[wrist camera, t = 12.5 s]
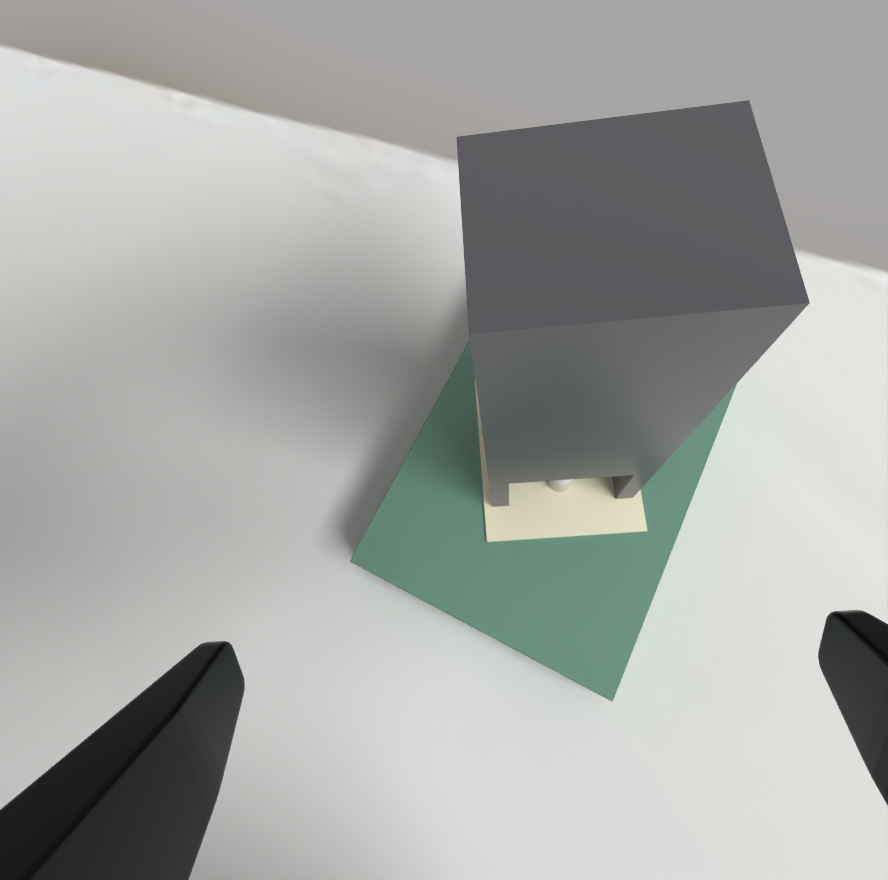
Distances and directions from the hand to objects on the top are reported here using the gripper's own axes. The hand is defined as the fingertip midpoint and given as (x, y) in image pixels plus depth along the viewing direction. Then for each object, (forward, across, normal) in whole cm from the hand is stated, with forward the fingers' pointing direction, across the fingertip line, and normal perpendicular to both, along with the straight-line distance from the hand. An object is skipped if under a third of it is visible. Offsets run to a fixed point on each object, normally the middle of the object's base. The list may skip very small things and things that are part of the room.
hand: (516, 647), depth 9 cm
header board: (+14, -2, +4) cm, 14 cm away
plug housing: (+12, -2, +3) cm, 13 cm away
